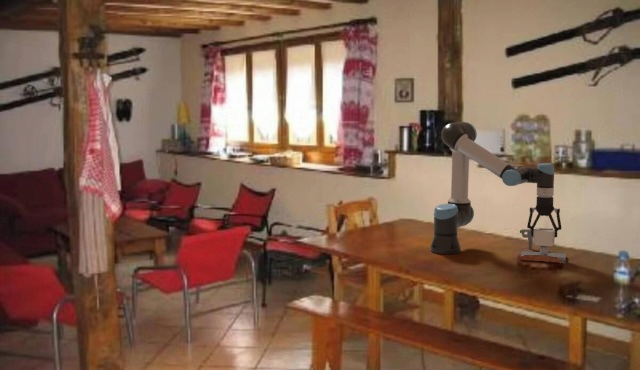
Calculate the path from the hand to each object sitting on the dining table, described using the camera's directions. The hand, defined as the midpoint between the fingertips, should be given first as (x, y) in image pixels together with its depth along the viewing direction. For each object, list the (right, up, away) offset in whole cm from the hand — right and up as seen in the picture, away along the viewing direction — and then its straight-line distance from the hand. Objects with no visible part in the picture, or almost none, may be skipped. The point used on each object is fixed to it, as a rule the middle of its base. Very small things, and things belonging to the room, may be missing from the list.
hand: (543, 243), depth 306 cm
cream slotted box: (0, 0, 0) cm, 0 cm away
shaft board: (0, -7, +1) cm, 8 cm away
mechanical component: (0, -5, +21) cm, 22 cm away
